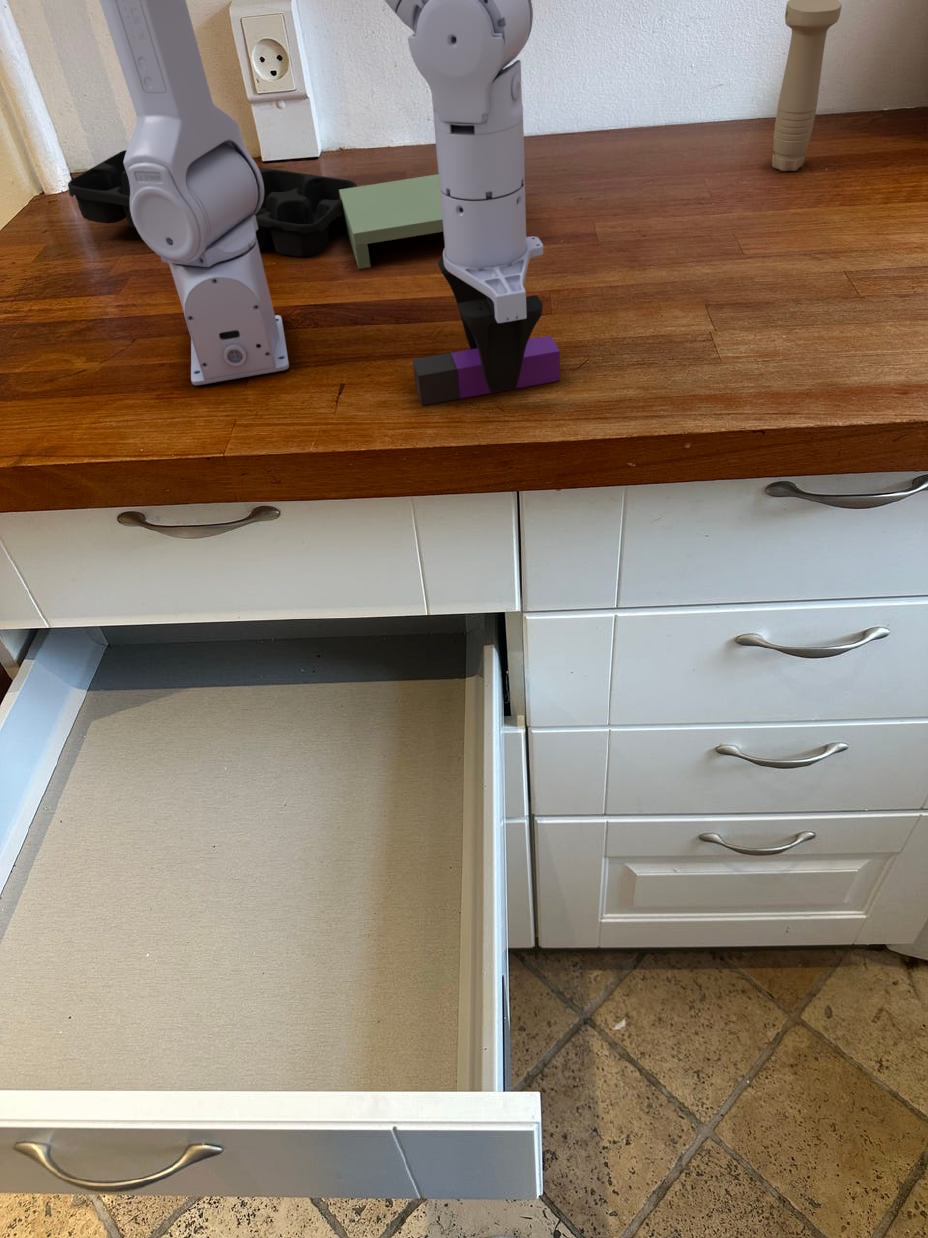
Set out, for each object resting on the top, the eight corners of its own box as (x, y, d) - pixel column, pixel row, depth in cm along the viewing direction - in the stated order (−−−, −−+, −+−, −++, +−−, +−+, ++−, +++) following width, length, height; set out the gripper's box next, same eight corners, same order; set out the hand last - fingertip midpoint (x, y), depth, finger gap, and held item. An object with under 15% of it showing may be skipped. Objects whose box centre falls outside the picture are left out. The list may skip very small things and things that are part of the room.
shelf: (518, 243, 90) (517, 206, 88) (358, 269, 89) (353, 233, 86) (490, 200, 99) (489, 165, 96) (344, 223, 97) (338, 189, 95)
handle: (804, 155, 101) (832, -7, 90) (816, 176, 96) (847, 9, 86) (759, 157, 101) (782, -3, 91) (769, 179, 97) (794, 13, 86)
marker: (560, 381, 71) (560, 350, 69) (421, 405, 70) (418, 375, 68) (550, 365, 73) (550, 334, 71) (416, 389, 72) (412, 359, 70)
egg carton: (114, 178, 105) (106, 143, 103) (371, 194, 103) (369, 159, 100) (49, 245, 93) (38, 207, 90) (339, 264, 91) (336, 226, 88)
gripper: (571, 214, 56) (570, 406, 66) (513, 141, 67) (519, 317, 76) (459, 232, 56) (474, 424, 65) (418, 156, 66) (436, 331, 75)
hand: (492, 367), depth 71 cm, fingers open, 6 cm apart
